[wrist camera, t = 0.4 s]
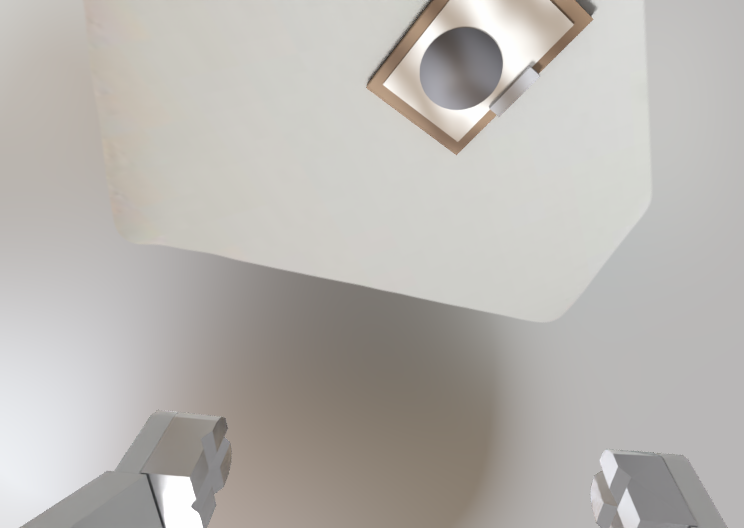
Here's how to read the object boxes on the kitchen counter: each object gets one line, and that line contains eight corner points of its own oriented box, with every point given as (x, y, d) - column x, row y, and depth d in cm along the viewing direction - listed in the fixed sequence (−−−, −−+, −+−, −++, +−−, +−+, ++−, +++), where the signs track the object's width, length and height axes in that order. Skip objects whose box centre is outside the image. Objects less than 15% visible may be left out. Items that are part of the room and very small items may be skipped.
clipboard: (495, -84, 45) (498, -81, 44) (591, 16, 50) (595, 21, 49) (366, 85, 56) (365, 90, 55) (455, 151, 62) (456, 158, 60)
